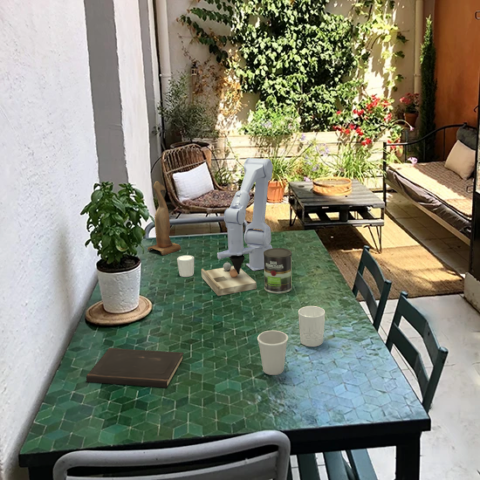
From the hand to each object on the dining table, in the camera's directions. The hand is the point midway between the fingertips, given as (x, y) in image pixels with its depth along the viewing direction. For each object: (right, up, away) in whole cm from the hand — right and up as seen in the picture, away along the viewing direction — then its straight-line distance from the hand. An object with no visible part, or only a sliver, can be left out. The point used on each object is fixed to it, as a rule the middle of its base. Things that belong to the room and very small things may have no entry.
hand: (237, 273), depth 222 cm
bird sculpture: (-33, +8, +41) cm, 53 cm away
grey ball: (-4, +2, +6) cm, 8 cm away
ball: (-1, 0, 0) cm, 1 cm away
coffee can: (+15, -5, -6) cm, 17 cm away
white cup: (+23, -18, -46) cm, 54 cm away
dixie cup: (+10, -23, -60) cm, 65 cm away
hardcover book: (-28, -24, -57) cm, 68 cm away
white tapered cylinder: (-20, -1, +12) cm, 23 cm away
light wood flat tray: (-3, -4, +1) cm, 5 cm away
